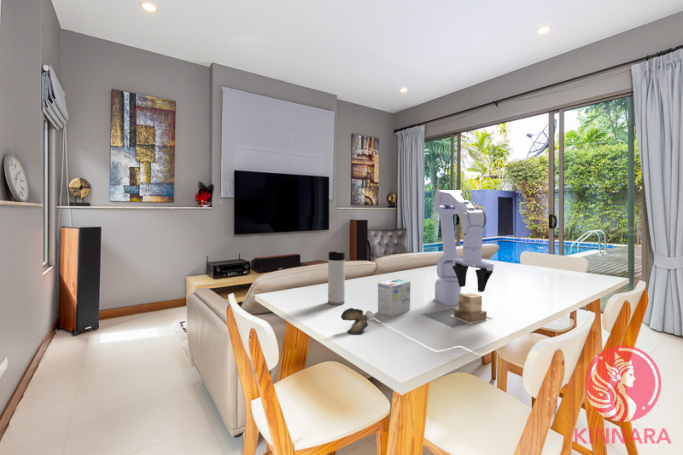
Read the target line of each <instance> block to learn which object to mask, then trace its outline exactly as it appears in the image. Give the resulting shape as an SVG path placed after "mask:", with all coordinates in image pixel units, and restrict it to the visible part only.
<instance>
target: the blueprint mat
mask: <svg viewBox="0 0 683 455" xmlns="http://www.w3.org/2000/svg"><path fill="white" fill-rule="evenodd" d="M456 308H457V307H454V308H448V309H442V310H436V311H433V312H426V313H420V315H422V316H424V317H427V318H429V319H431V320H434V321H436V322H439V323H441V324H443V325H445V326H449V327H450V328H456V327H461V326H465V325H473V324H475V323H480V322H484V321H491V320H493V318H492V317H489V316H487V318H486V319H485V320H480V321H476V322H469V321H466V320H463V319H460V318H458V317H455V316H454V309H456Z"/></svg>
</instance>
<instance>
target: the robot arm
mask: <svg viewBox="0 0 683 455" xmlns="http://www.w3.org/2000/svg"><path fill="white" fill-rule="evenodd" d="M433 202H434V209H435V213H437V214H439V219H440V230H441V241H442V250H443V251H442V252H443V255H442V256H439V258H438V259H437V260H436V275H437V277H438V278H437V279H436V281H435V283H434V298H432V299H433V301H436V302H438V303H442V304H445V305H448V306H457V305H458V302H459V294H462V292H461V290H462V289H461V288H462V287H463V288H464V287H465V286H466V284H467V273H468V269H469V267H471V268H476V269H475V271H474V272H475V275H476V279H477V280H476V281H477V292H479V293H483V292H485V290H486V286H487V285H488V281H489V279H490V277H491V276H492V274H493V273H494V263H491V262H486V261H483V258H482V257H483V231H484V230H483V229H484V228H485V227H486V224H487V214H486V212H485V210H482V209H479V210H478V209H477V208H476V207H475V206H474V205H473V204H472V203H471V202H470V201H469V200H464V192H463V191H462V190H461V189H458V190H457V189H456V190H454V189H453V190H452V189H451V190H448V189H447V190H446V189H445V190H443V189H436V191H435V193H434V201H433ZM455 214H456V215H457V216H458V217H459V218H460V225H461V232H462V234H463V235H462V236H463V238H462V239H463V241H462V245H463V246H462V257H461V256H460V255H459V254H458V253H457V246H456V245H457V244H456V234H455V226H454V215H455Z"/></svg>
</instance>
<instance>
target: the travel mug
mask: <svg viewBox="0 0 683 455" xmlns="http://www.w3.org/2000/svg"><path fill="white" fill-rule="evenodd" d="M345 255H346V253H345V252H337V251H328V263H327V264H328V266H327V270H328V271H327V272H328V273H327V274H328V275H327V276H328V278H327V279H328V280H327V281H328V282H327V290H328V291H327V292H328V293H327V303H328V304H329V305H332V306H342V305H344V304H345V292H346V291H345V289H346V287H345V286H346V284H345V280H346V279H345V276H346V272H345V271H346V270H345V268H346V267H345V266H346V263H345V262H346V260H345V257H346V256H345Z"/></svg>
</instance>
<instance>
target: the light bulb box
mask: <svg viewBox="0 0 683 455" xmlns="http://www.w3.org/2000/svg"><path fill="white" fill-rule="evenodd" d="M409 311H411V281H410V280H404V279H399V278H393V279H388V280H386V281H382V282H378V283H377V313H380V314H383V315H385V316H386V315H387V316H389V317H394V316H397V315H401V314H403V313H406V312H409Z"/></svg>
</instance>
